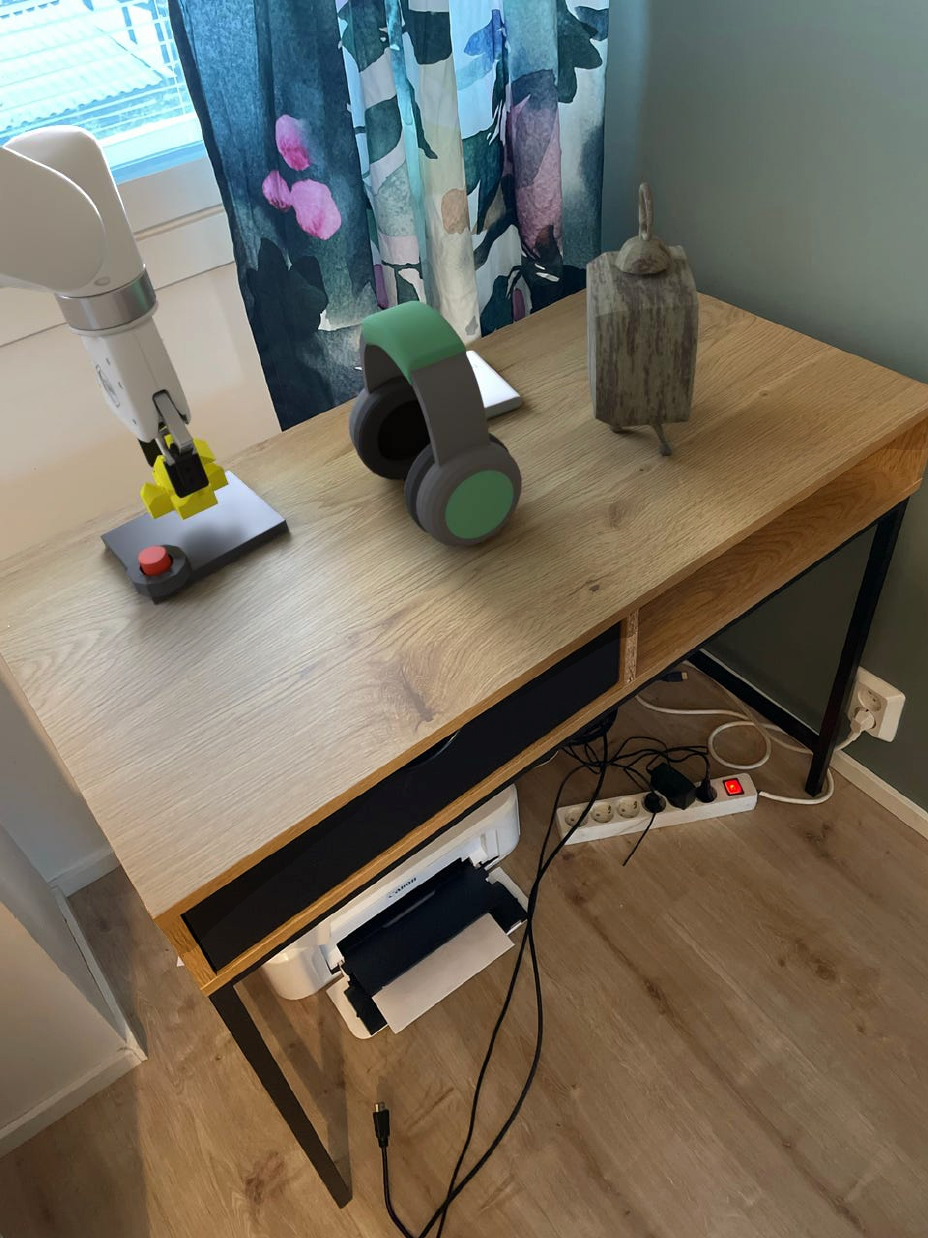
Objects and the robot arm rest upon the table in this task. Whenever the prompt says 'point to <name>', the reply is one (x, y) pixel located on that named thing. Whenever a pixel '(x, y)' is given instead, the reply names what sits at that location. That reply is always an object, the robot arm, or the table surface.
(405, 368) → the headphones
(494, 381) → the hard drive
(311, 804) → the table surface
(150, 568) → the tare button
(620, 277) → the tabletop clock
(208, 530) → the scale
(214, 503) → the yellow crystal cluster
